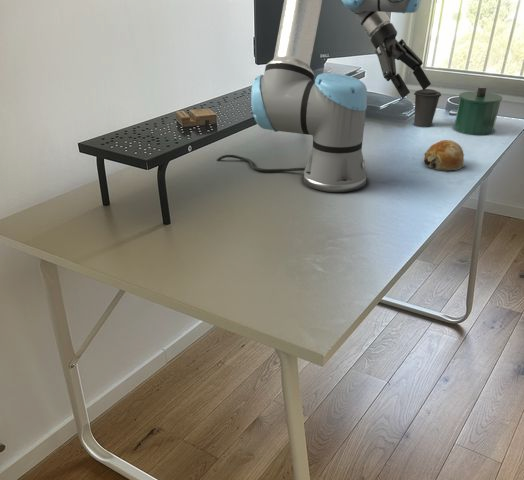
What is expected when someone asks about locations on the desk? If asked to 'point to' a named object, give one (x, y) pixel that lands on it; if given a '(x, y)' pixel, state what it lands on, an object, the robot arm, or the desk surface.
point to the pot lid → (480, 96)
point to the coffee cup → (425, 106)
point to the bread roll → (444, 156)
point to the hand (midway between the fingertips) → (417, 91)
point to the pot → (476, 117)
